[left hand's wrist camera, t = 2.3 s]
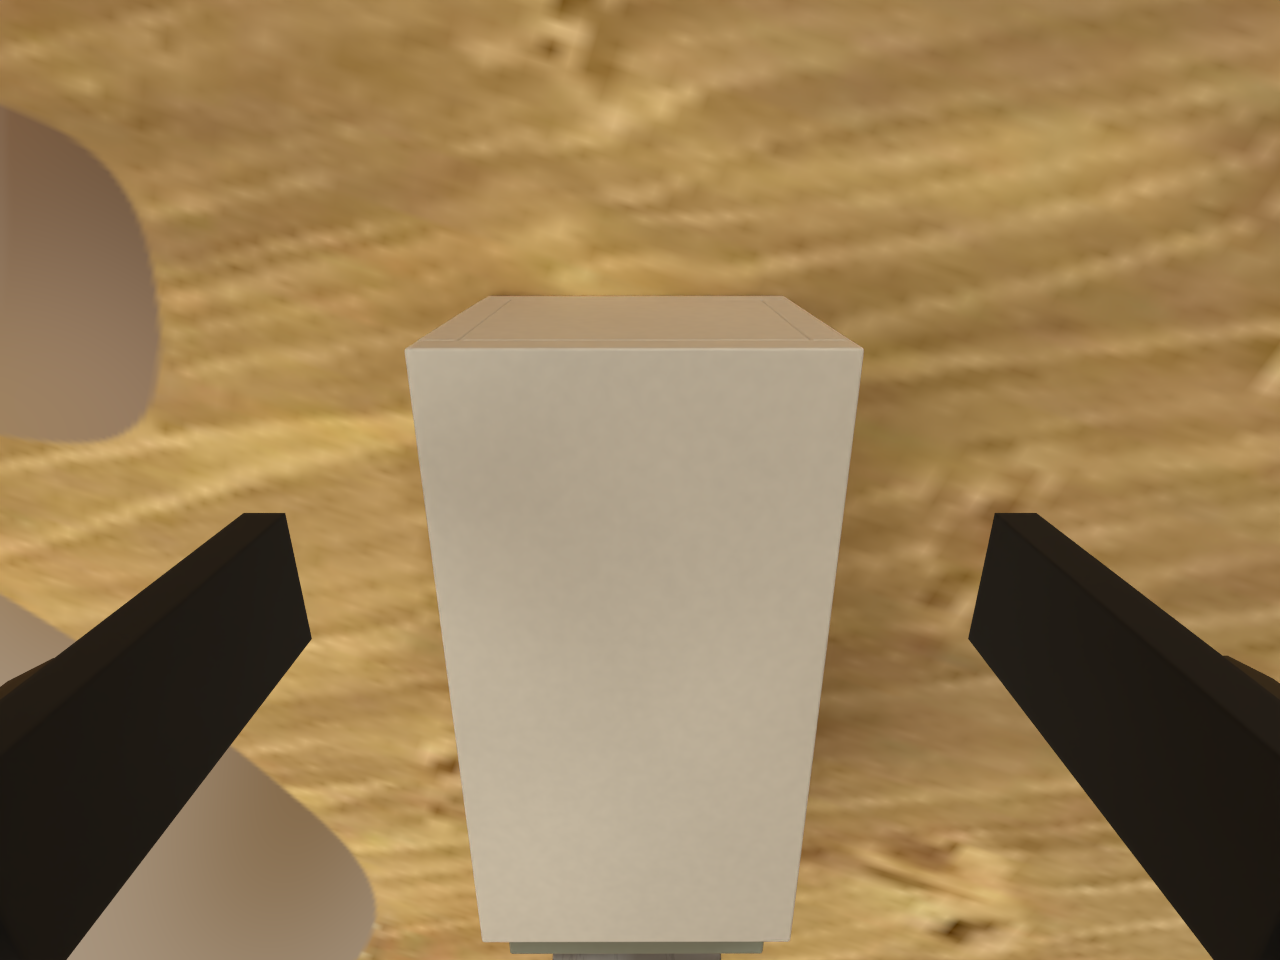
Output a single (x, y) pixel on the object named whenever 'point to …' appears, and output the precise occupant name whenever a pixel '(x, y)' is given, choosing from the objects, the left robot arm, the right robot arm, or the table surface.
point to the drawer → (635, 950)
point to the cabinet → (635, 601)
